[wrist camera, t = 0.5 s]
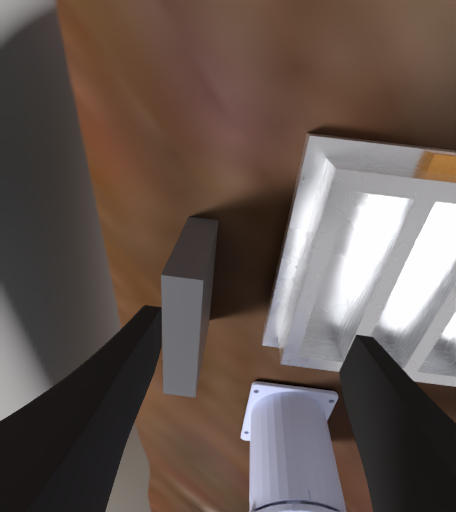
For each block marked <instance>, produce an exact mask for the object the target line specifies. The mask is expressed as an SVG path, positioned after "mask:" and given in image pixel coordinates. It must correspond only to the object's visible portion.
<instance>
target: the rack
mask: <svg viewBox="0 0 456 512" xmlns="http://www.w3.org/2000/svg"><path fill="white" fill-rule="evenodd" d="M356 335H363V336H371V337H374V339H375V340H376V341H377V342H378V343H379V344H380V345H381V346H382V347H383V348H384V349H385V350H386V351H387V352H388V354H389V355H390V356H391V357H392V358H393V359H394V360H395V361H396V362H397V363H398V365H399V366H400V367H401V368H402V369H403V370H404V371H405V372H406V373H407V374H408V376H409V377H410V378H411V379H412V380H413V381H415V382H423V383H431V384H439V385H446V386H454V387H456V150H449V149H441V148H432V147H424V146H415V145H407V144H398V143H390V142H381V141H373V140H364V139H356V138H348V137H339V136H331V135H322V134H314V133H307V134H306V138H305V143H304V147H303V152H302V156H301V161H300V166H299V170H298V175H297V179H296V184H295V188H294V193H293V197H292V202H291V206H290V211H289V216H288V220H287V225H286V229H285V234H284V238H283V243H282V247H281V252H280V256H279V261H278V266H277V270H276V275H275V279H274V284H273V288H272V293H271V297H270V302H269V306H268V311H267V316H266V320H265V325H264V329H263V334H262V345H263V346H271V347H279V354H280V364H283V365H290V366H298V367H306V368H314V369H322V370H329V371H337V372H339V371H340V369H341V366H342V364H343V362H344V360H345V358H346V356H347V353H348V351H349V349H350V347H351V345H352V343H353V340H354V338H355V336H356Z"/></svg>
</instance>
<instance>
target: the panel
mask: <svg viewBox="0 0 456 512" xmlns="http://www.w3.org/2000/svg"><path fill="white" fill-rule="evenodd" d="M218 221H219V220H212V219H204V218H196V217H188V220H187V222H186V224H185V226H184V228H183V230H182V232H181V234H180V237H179V239H178V241H177V243H176V245H175V247H174V249H173V251H172V253H171V256H170V258H169V260H168V262H167V264H166V266H165V268H164V270H163V272H162V275H161V289H162V339H163V389H164V393H165V394H172V395H180V396H188V397H196V391H197V386H198V380H199V375H200V369H201V364H202V358H203V353H204V348H205V342H206V337H207V331H208V326H209V320H210V309H211V298H212V287H213V276H214V265H215V254H216V243H217V232H218Z"/></svg>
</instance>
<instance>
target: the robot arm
mask: <svg viewBox="0 0 456 512" xmlns="http://www.w3.org/2000/svg"><path fill="white" fill-rule="evenodd" d="M161 347H162V307H154V306H147V305H145V306H143V307H142V308H141V309H140V310H139V311H138V312H137V313H136V314H135V315H134V317H133V318H132V319H131V320H130V321H129V322H128V323H127V324H126V325H125V326H124V327H123V328H122V329H121V330H120V331H119V332H118V333H117V334H116V335H114V336H113V337H112V338H111V339H110V340H109V341H108V342H107V343H106V344H105V345H104V346H103V347H102V348H100V349H99V350H98V351H97V352H96V353H95V354H93V355H92V356H91V357H90V358H89V359H88V360H86V361H85V362H84V363H83V364H82V365H80V366H79V367H78V368H77V369H75V370H74V371H73V372H72V373H71V374H69V375H68V376H67V377H65V378H64V379H63V380H61V381H60V382H58V383H57V384H56V385H54V386H53V387H52V388H50V389H49V390H47V391H46V392H44V393H43V394H42V395H40V396H39V397H37V398H36V399H34V400H33V401H31V402H30V403H28V404H27V405H25V406H24V407H22V408H21V409H19V410H18V411H16V412H14V413H13V414H11V415H10V416H8V417H6V418H5V419H3V420H1V421H0V512H105V511H106V507H107V503H108V500H109V497H110V493H111V490H112V487H113V483H114V480H115V477H116V474H117V470H118V467H119V464H120V461H121V458H122V454H123V451H124V448H125V445H126V442H127V439H128V437H129V434H130V431H131V429H132V426H133V424H134V422H135V419H136V417H137V414H138V412H139V409H140V407H141V404H142V402H143V399H144V397H145V395H146V392H147V390H148V387H149V385H150V382H151V380H152V377H153V375H154V372H155V368H156V365H157V361H158V358H159V354H160V350H161ZM339 374H340V380H341V387H342V393H343V398H344V402H345V406H346V409H347V413H348V416H349V420H350V423H351V426H352V430H353V433H354V436H355V440H356V443H357V447H358V450H359V453H360V457H361V460H362V463H363V467H364V471H365V475H366V478H367V483H368V487H369V492H370V497H371V502H372V507H373V512H456V423H455V422H454V421H453V420H452V419H451V418H449V417H448V416H447V415H446V414H445V413H444V412H443V411H442V410H441V409H440V408H439V407H438V406H437V405H436V404H435V403H434V402H433V401H432V400H431V399H430V398H429V397H428V396H427V395H426V394H425V393H424V391H423V390H422V389H421V388H420V387H419V386H418V385H417V384H416V383H415V382H414V381H413V380H412V379H411V378H410V377H409V376H408V374H407V373H406V372H405V371H404V370H403V369H402V368H401V367H400V366H399V365H398V363H397V362H396V361H395V360H394V359H393V358H392V357H391V356H390V355H389V354H388V352H387V351H386V350H385V349H384V348H383V347H382V346H381V345H380V344H379V343H378V342H377V341H376V340H375V339H374V337H371V336H363V335H356V336H355V338H354V340H353V343H352V345H351V347H350V349H349V351H348V353H347V356H346V358H345V360H344V362H343V364H342V366H341V369H340V371H339ZM337 400H338V394H337V392H335V391H329V390H321V389H314V388H306V387H298V386H290V385H283V384H275V383H267V382H259V381H255V382H253V383H252V386H251V390H250V395H249V400H248V404H247V409H246V413H245V418H244V422H243V427H242V431H241V438H242V439H243V440H248V441H250V492H249V501H250V512H346V507H345V503H344V498H343V493H342V489H341V484H340V480H339V475H338V470H337V466H336V461H335V456H334V452H333V447H332V442H331V438H330V433H329V428H328V424H327V421H328V419H329V416H330V414H331V412H332V410H333V408H334V406H335V404H336V402H337Z"/></svg>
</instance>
